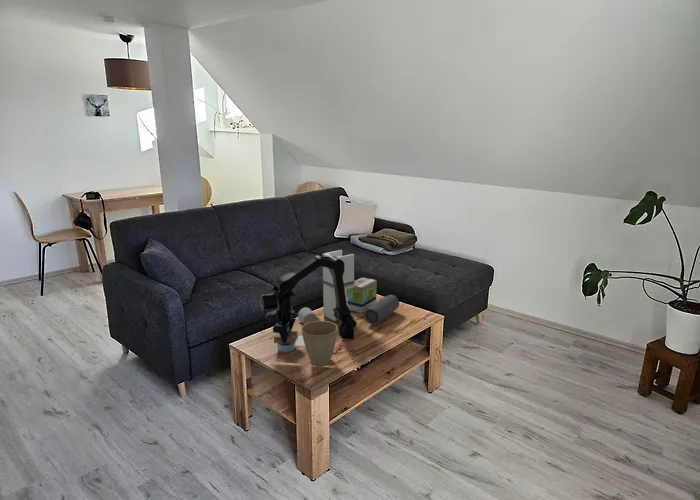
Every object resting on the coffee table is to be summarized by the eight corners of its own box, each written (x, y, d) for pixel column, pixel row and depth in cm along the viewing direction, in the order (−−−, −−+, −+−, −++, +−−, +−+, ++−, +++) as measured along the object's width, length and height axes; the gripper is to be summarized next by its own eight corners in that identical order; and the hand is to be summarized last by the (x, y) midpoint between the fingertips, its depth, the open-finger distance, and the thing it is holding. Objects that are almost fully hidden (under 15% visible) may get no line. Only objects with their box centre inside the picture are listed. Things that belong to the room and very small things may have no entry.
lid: (297, 337, 210) (297, 330, 209) (294, 344, 204) (294, 336, 203) (278, 336, 211) (277, 329, 210) (274, 343, 205) (273, 335, 204)
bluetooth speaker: (379, 328, 230) (380, 309, 228) (363, 324, 235) (363, 306, 232) (400, 313, 249) (400, 295, 246) (384, 309, 254) (384, 292, 251)
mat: (310, 338, 220) (310, 336, 220) (305, 348, 211) (305, 346, 210) (289, 337, 221) (289, 335, 221) (284, 346, 212) (283, 344, 212)
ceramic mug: (304, 328, 231) (304, 314, 229) (297, 322, 237) (297, 308, 235) (323, 324, 236) (323, 310, 234) (316, 318, 243) (316, 304, 241)
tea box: (362, 313, 248) (362, 287, 244) (346, 309, 253) (346, 283, 250) (376, 304, 260) (377, 279, 256) (361, 301, 266) (361, 276, 262)
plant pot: (345, 361, 199) (345, 327, 194) (320, 375, 188) (319, 339, 184) (320, 350, 208) (319, 317, 204) (295, 363, 197) (294, 328, 193)
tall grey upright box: (336, 325, 233) (335, 258, 224) (323, 319, 242) (322, 253, 232) (354, 320, 240) (354, 254, 231) (341, 313, 248) (341, 249, 239)
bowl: (296, 346, 212) (296, 338, 211) (292, 354, 205) (292, 346, 204) (280, 346, 213) (280, 337, 212) (276, 353, 206) (276, 345, 205)
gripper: (272, 297, 213) (274, 329, 217) (260, 313, 195) (262, 347, 199) (296, 298, 212) (298, 330, 216) (286, 315, 194) (287, 349, 198)
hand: (286, 339), depth 207 cm, fingers closed on lid, 6 cm apart
